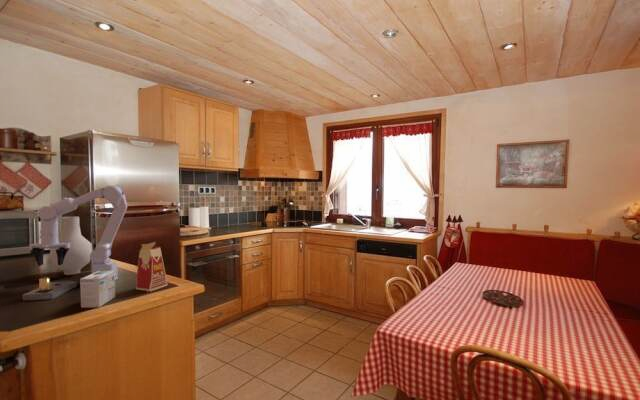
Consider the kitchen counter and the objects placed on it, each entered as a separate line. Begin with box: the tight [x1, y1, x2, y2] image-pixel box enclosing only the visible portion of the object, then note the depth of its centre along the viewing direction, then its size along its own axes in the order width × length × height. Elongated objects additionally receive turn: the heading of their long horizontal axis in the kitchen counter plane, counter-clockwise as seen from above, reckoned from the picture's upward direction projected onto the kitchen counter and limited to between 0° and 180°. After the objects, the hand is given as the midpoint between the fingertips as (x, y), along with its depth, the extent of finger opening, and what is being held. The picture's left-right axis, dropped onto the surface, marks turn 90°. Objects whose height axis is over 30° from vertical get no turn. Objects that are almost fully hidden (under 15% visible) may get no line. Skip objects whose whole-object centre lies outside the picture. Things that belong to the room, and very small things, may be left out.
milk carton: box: [135, 241, 168, 292], centre depth 137 cm, size 9×9×20 cm
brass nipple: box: [38, 277, 51, 293], centre depth 126 cm, size 3×3×7 cm
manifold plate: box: [22, 280, 78, 302], centre depth 129 cm, size 10×16×2 cm, turn 10°
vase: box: [49, 216, 93, 276], centre depth 158 cm, size 17×16×28 cm
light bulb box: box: [79, 271, 116, 309], centre depth 120 cm, size 11×7×11 cm, turn 5°
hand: (50, 264), depth 138 cm, fingers open, 7 cm apart
